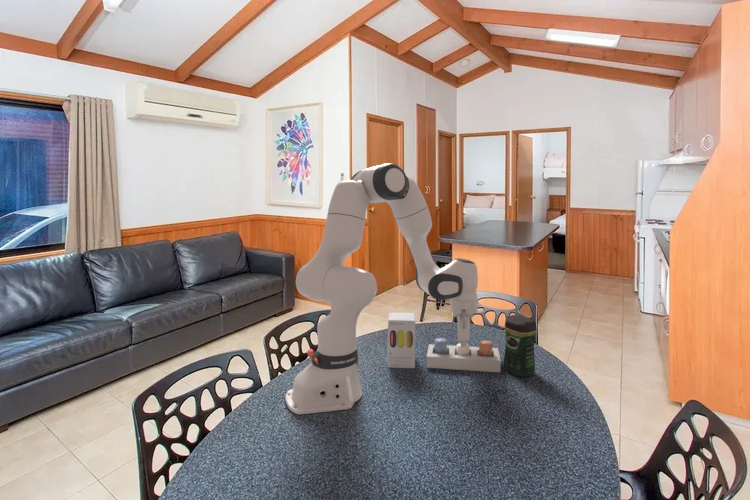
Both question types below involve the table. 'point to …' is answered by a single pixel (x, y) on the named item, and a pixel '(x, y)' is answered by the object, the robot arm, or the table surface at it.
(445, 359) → the white boxy piece
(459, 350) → the ivory key
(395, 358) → the supplement box
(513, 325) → the coffee jar
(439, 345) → the slate blue key
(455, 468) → the table surface
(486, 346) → the terracotta key
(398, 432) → the table surface
